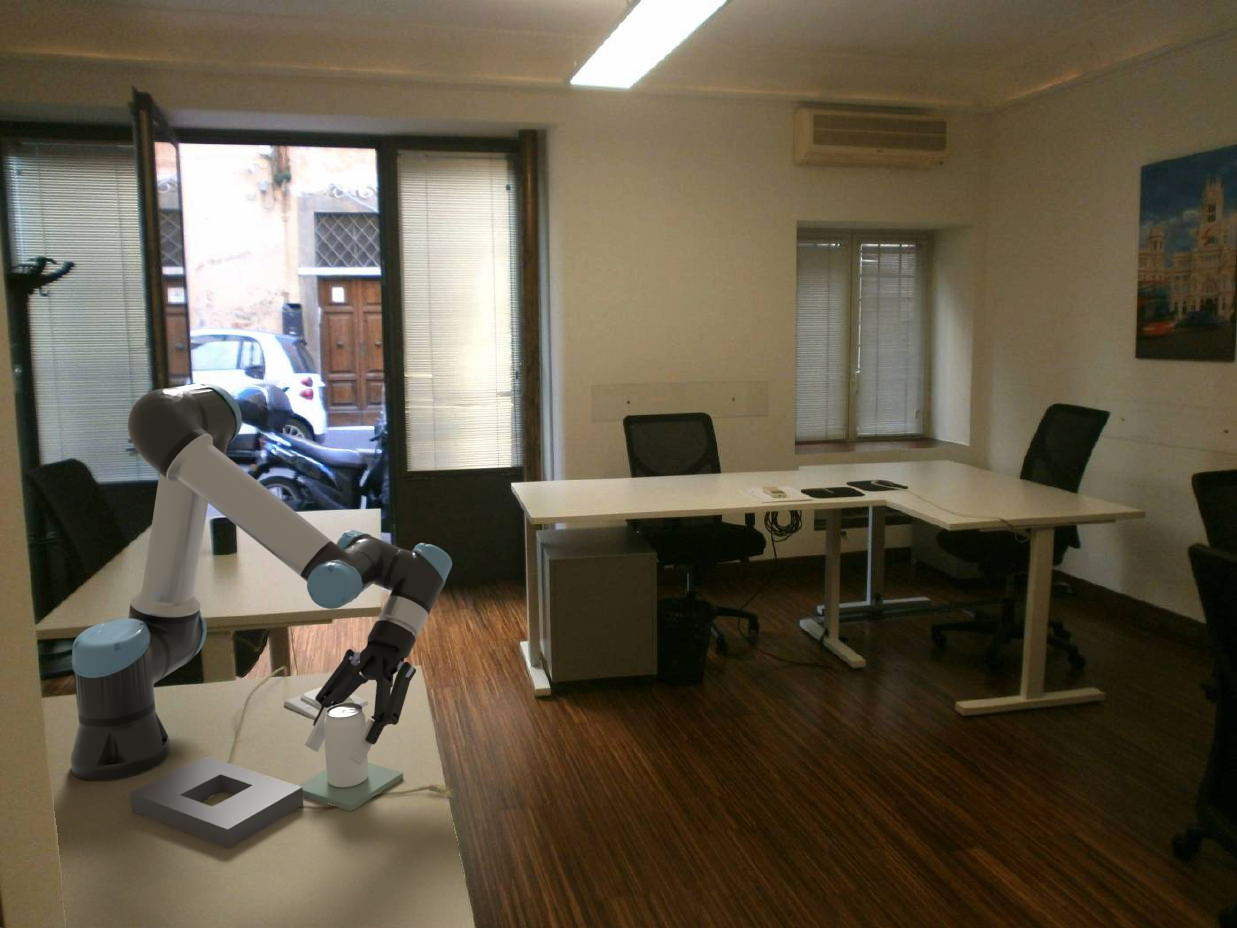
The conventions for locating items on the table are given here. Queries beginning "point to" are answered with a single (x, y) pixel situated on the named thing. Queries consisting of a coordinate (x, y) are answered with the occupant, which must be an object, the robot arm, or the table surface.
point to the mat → (352, 796)
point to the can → (344, 745)
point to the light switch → (315, 703)
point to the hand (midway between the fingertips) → (332, 754)
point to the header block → (228, 820)
